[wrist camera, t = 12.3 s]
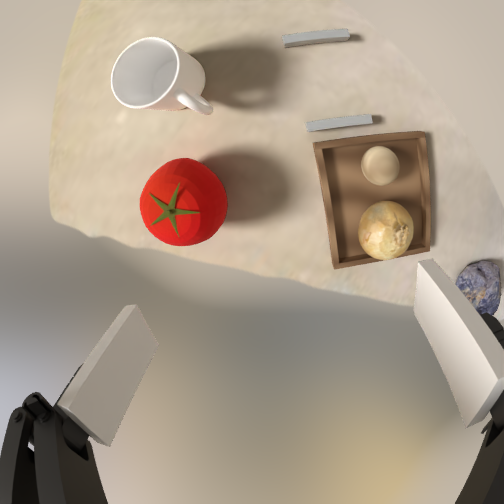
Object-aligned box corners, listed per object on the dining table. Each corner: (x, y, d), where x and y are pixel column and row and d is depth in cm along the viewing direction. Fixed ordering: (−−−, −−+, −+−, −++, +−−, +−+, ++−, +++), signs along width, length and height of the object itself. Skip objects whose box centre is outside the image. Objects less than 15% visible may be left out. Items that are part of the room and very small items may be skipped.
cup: (175, 46, 28) (142, 25, 19) (241, 91, 31) (225, 78, 22) (140, 91, 31) (98, 86, 22) (200, 138, 34) (171, 143, 25)
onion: (399, 249, 37) (417, 272, 31) (350, 248, 38) (362, 273, 32) (406, 197, 34) (429, 213, 27) (355, 194, 35) (370, 209, 28)
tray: (312, 142, 33) (314, 143, 31) (418, 131, 30) (424, 131, 28) (332, 263, 40) (334, 269, 38) (424, 245, 37) (429, 251, 35)
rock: (451, 323, 39) (485, 331, 29) (443, 270, 40) (479, 268, 30) (484, 304, 39) (517, 307, 29) (478, 256, 40) (511, 251, 30)
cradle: (282, 40, 27) (282, 35, 25) (344, 33, 25) (347, 28, 23) (306, 131, 32) (308, 131, 30) (368, 123, 30) (372, 123, 29)
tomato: (213, 240, 40) (191, 278, 31) (153, 206, 39) (115, 233, 29) (248, 179, 36) (235, 199, 26) (181, 142, 34) (145, 150, 25)
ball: (353, 146, 32) (364, 150, 27) (388, 143, 31) (403, 146, 26) (359, 183, 34) (370, 192, 29) (392, 178, 33) (407, 187, 28)
